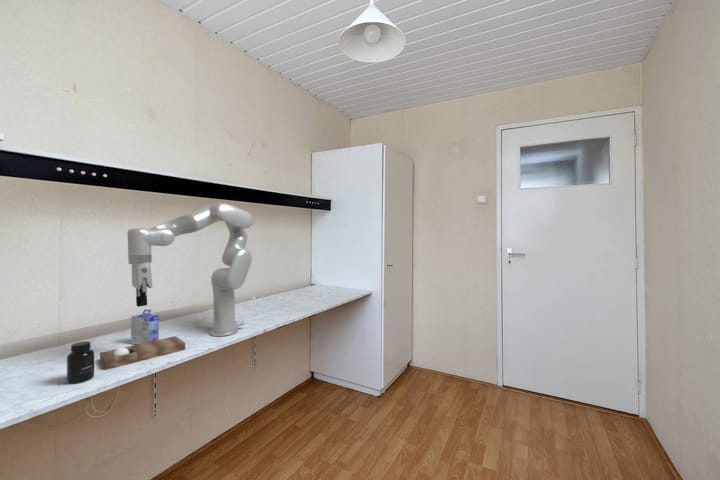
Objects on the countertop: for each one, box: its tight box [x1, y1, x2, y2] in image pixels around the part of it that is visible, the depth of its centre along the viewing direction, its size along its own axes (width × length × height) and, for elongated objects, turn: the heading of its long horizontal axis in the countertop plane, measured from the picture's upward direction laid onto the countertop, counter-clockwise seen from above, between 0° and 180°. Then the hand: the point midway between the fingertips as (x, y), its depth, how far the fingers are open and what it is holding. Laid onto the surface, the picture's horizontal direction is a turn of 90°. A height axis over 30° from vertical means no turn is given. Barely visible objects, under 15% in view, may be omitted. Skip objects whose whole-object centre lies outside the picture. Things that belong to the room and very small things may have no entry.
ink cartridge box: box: [130, 309, 160, 345], centre depth 138 cm, size 10×6×14 cm, turn 78°
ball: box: [113, 347, 129, 357], centre depth 119 cm, size 5×5×5 cm
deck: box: [99, 335, 186, 371], centre depth 125 cm, size 26×12×3 cm, turn 138°
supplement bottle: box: [66, 341, 95, 385], centre depth 104 cm, size 7×7×12 cm
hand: (141, 305), depth 124 cm, fingers closed
